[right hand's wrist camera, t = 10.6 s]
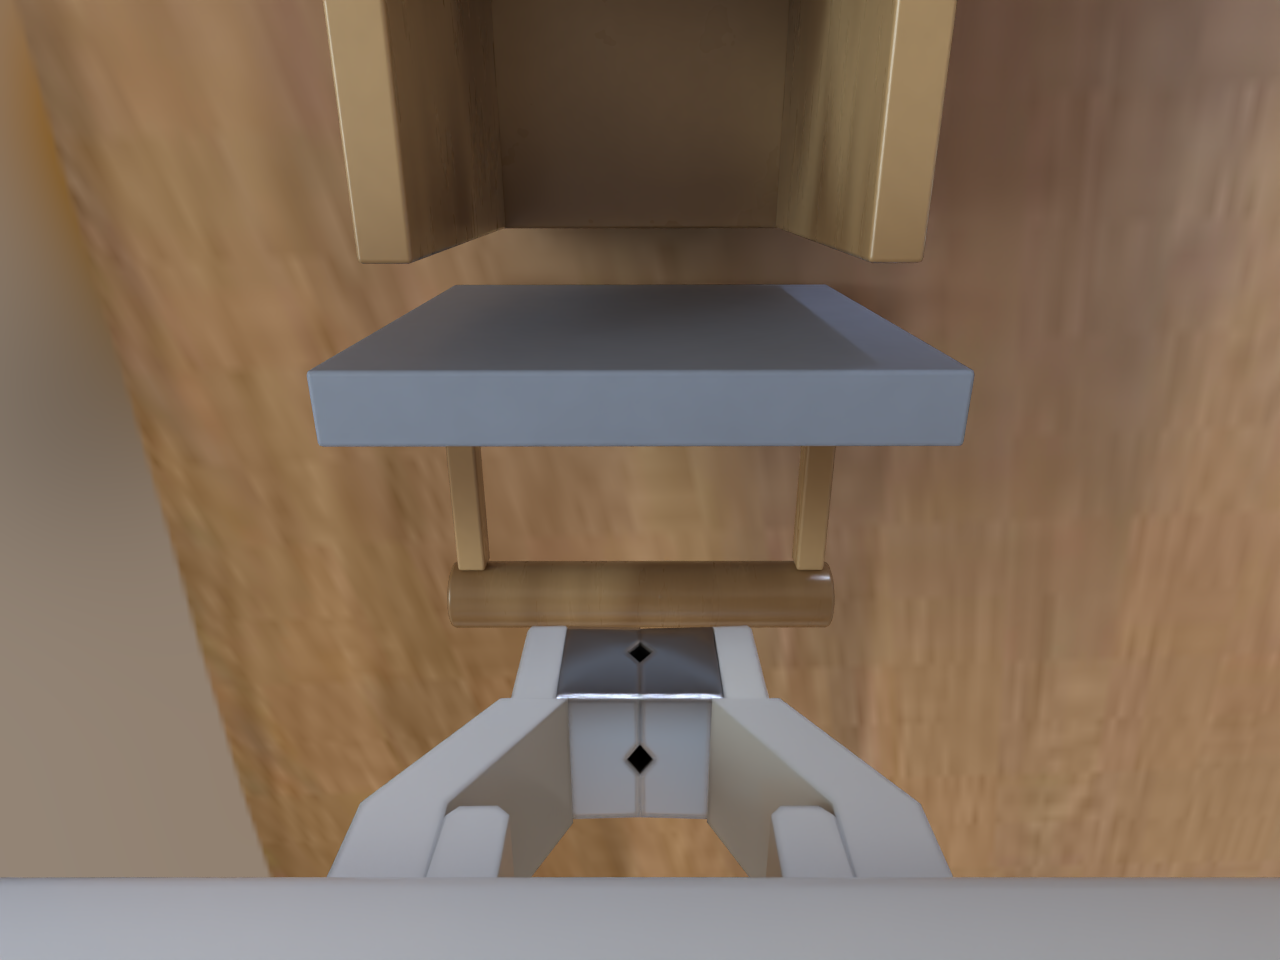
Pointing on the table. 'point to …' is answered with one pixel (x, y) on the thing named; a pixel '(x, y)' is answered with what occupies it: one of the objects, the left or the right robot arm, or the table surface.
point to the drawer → (640, 314)
